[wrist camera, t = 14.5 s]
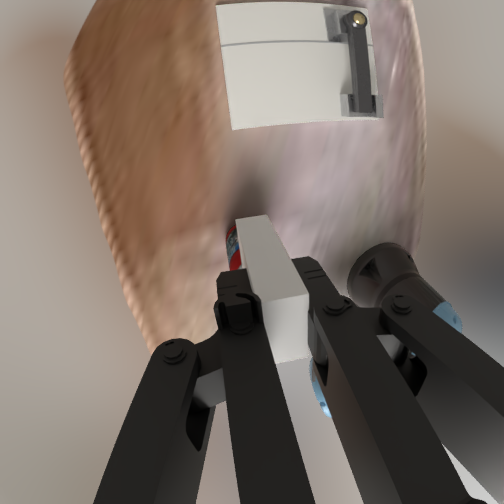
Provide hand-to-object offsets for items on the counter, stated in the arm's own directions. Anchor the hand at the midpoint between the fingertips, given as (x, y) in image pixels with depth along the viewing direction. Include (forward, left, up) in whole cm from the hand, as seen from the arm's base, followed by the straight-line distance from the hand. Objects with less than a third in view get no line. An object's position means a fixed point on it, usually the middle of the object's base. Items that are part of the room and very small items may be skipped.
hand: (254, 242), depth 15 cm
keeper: (+5, -21, -31) cm, 38 cm away
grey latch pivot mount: (+19, -21, -31) cm, 42 cm away
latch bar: (+12, -21, -28) cm, 37 cm away
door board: (+13, -14, -32) cm, 38 cm away
